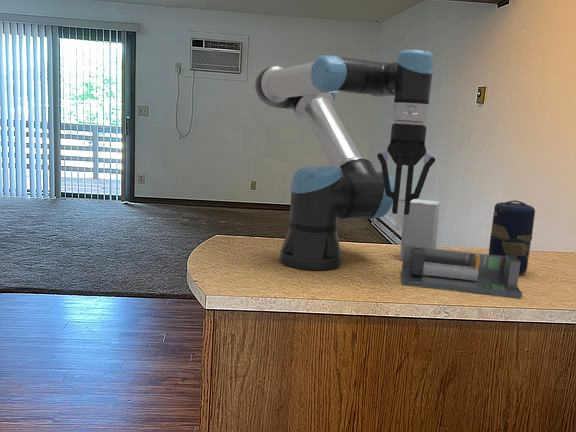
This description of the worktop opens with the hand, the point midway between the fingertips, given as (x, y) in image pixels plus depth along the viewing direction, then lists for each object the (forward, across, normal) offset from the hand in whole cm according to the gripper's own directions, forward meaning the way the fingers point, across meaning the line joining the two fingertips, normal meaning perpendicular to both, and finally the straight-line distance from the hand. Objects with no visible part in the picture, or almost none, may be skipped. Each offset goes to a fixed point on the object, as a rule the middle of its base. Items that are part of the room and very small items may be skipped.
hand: (398, 228), depth 128 cm
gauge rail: (+12, +14, 0) cm, 18 cm away
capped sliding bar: (+10, +11, 0) cm, 15 cm away
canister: (+12, +28, +17) cm, 35 cm away
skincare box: (+12, +6, +19) cm, 23 cm away
